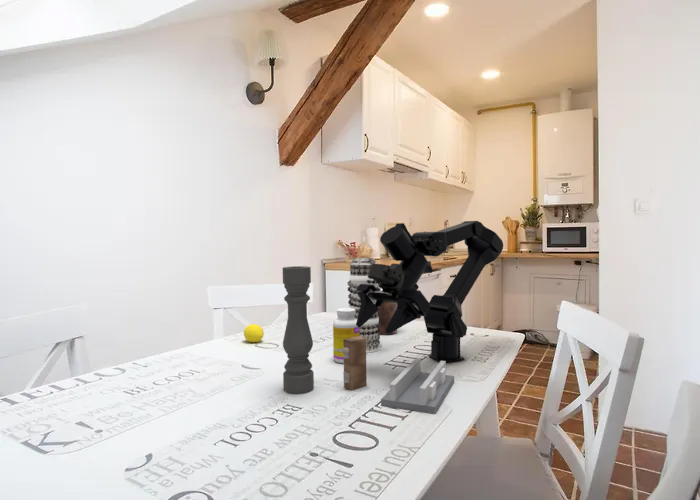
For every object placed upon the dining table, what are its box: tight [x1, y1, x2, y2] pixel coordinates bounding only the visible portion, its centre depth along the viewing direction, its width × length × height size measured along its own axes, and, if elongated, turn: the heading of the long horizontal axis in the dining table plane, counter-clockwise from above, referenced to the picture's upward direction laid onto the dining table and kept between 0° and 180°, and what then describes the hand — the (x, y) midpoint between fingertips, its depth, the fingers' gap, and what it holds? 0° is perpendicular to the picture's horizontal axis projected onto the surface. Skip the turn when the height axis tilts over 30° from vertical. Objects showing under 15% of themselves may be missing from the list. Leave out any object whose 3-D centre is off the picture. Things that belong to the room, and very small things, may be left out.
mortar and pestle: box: [377, 284, 398, 336], centre depth 139 cm, size 12×9×20 cm
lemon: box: [243, 323, 265, 344], centre depth 130 cm, size 7×5×5 cm
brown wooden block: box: [342, 336, 368, 391], centre depth 91 cm, size 5×2×10 cm, turn 129°
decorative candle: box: [347, 257, 381, 354], centre depth 121 cm, size 9×9×25 cm
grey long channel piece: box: [380, 357, 455, 415], centre depth 87 cm, size 18×10×4 cm, turn 156°
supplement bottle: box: [332, 307, 360, 364], centre depth 110 cm, size 7×7×13 cm
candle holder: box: [282, 265, 315, 395], centre depth 90 cm, size 6×6×25 cm
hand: (371, 329), depth 94 cm, fingers open, 9 cm apart
